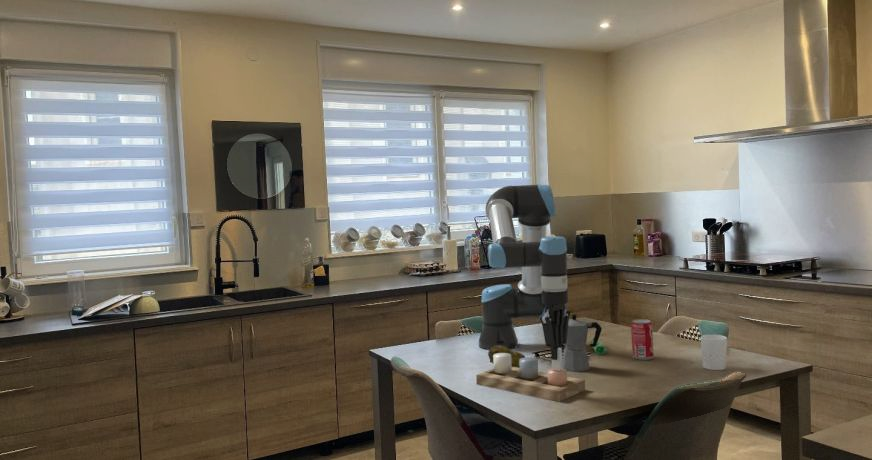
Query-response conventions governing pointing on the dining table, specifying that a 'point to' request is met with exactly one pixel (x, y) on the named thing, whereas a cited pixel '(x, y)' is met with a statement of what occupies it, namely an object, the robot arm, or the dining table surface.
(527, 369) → the slate egg
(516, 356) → the potato
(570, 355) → the coffeepot
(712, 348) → the white cup
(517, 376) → the wooden egg rack
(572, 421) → the dining table surface
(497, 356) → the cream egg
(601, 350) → the candy
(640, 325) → the soda can
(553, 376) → the pink egg
